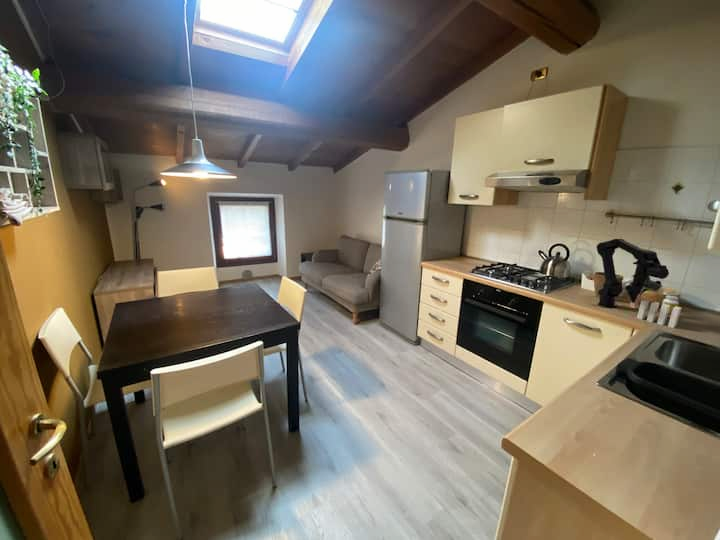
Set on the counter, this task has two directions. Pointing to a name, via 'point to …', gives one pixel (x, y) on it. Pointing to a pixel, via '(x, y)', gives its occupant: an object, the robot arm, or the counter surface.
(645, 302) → the ivory domino
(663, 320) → the ivory domino
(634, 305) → the terracotta domino
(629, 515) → the counter surface
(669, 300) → the pill bottle
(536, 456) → the counter surface
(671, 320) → the ivory domino
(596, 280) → the plant pot
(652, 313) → the ivory domino
